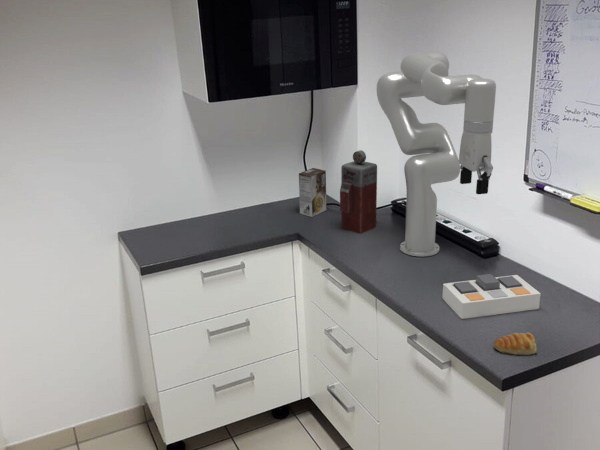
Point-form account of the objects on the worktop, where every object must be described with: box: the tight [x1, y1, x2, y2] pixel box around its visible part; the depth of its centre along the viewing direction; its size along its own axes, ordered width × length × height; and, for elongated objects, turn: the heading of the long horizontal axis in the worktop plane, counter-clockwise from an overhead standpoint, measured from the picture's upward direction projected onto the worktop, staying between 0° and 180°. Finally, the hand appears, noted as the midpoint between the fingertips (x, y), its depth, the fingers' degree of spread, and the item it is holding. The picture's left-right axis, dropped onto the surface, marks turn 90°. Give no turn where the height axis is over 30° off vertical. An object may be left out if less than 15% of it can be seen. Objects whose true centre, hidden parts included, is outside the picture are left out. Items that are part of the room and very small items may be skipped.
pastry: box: [493, 332, 537, 356], centre depth 153 cm, size 9×7×4 cm
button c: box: [498, 275, 522, 288], centre depth 176 cm, size 5×4×4 cm
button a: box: [454, 280, 477, 294], centre depth 174 cm, size 5×4×4 cm
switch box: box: [442, 274, 542, 320], centre depth 174 cm, size 12×22×5 cm, turn 102°
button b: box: [475, 273, 500, 291], centre depth 175 cm, size 5×4×4 cm
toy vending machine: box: [339, 149, 378, 235], centre depth 225 cm, size 9×11×28 cm
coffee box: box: [298, 167, 327, 218], centre depth 244 cm, size 9×6×16 cm
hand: (473, 188), depth 177 cm, fingers open, 9 cm apart
